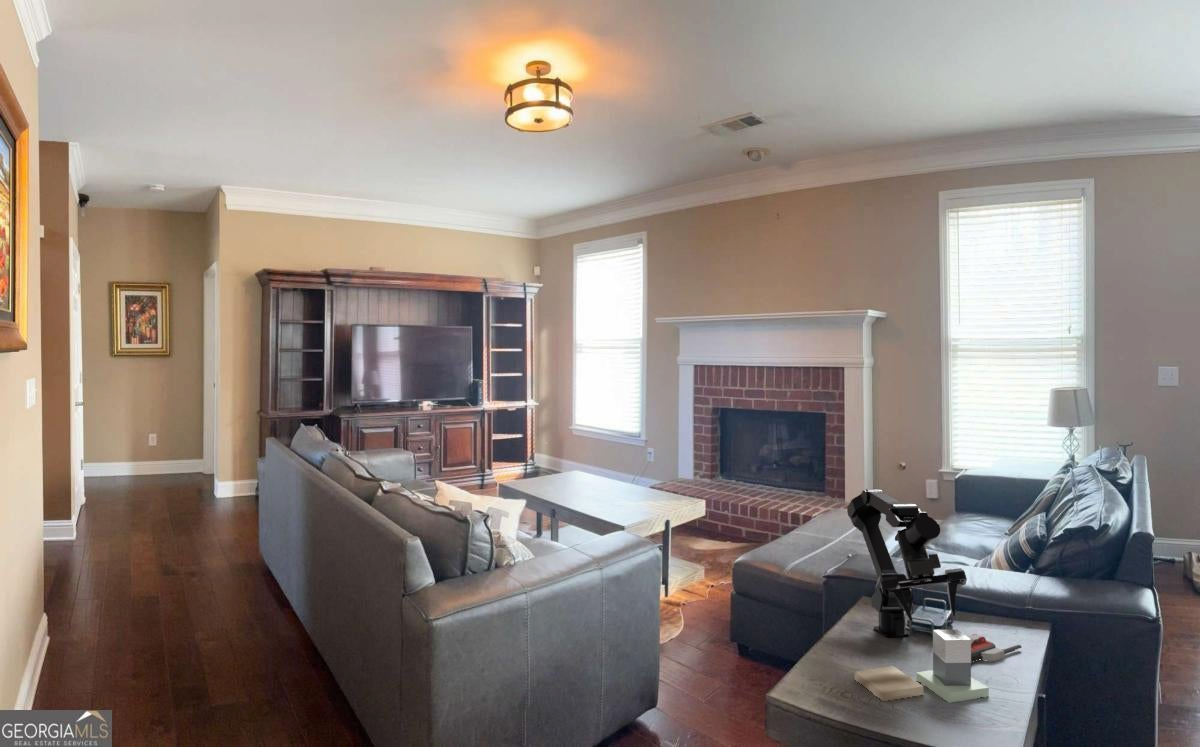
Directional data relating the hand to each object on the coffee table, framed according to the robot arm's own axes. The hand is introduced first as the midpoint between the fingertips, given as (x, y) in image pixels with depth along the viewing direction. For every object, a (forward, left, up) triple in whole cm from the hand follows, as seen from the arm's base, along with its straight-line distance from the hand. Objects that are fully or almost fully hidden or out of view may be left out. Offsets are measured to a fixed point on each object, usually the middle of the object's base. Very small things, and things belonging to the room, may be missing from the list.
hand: (932, 618), depth 159 cm
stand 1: (+5, -16, -12) cm, 20 cm away
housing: (+9, -3, -10) cm, 14 cm away
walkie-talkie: (-4, +17, -12) cm, 22 cm away
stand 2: (+9, -3, -12) cm, 15 cm away
